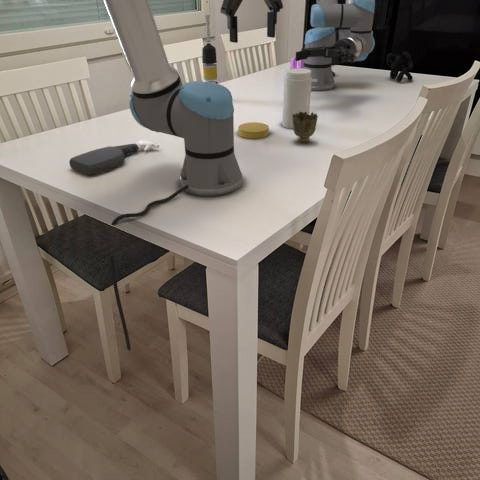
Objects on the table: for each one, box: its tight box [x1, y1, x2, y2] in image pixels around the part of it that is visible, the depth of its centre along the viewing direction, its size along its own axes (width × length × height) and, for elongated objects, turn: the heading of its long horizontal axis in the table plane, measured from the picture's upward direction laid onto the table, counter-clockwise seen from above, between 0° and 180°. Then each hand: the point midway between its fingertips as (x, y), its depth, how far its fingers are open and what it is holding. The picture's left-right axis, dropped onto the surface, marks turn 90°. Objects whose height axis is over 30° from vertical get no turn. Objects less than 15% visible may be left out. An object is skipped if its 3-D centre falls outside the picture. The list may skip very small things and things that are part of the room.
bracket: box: [289, 56, 304, 69], centre depth 217 cm, size 13×6×7 cm, turn 143°
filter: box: [201, 14, 219, 84], centre depth 171 cm, size 6×6×30 cm
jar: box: [282, 67, 312, 130], centre depth 144 cm, size 9×9×17 cm
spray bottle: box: [68, 139, 160, 177], centre depth 124 cm, size 3×11×24 cm
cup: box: [292, 111, 319, 144], centre depth 132 cm, size 8×7×8 cm
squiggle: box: [385, 51, 414, 83], centre depth 198 cm, size 11×10×15 cm
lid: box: [237, 121, 270, 140], centre depth 141 cm, size 10×10×2 cm
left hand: (252, 39), depth 127 cm, fingers open, 13 cm apart
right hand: (314, 58), depth 144 cm, fingers open, 13 cm apart
